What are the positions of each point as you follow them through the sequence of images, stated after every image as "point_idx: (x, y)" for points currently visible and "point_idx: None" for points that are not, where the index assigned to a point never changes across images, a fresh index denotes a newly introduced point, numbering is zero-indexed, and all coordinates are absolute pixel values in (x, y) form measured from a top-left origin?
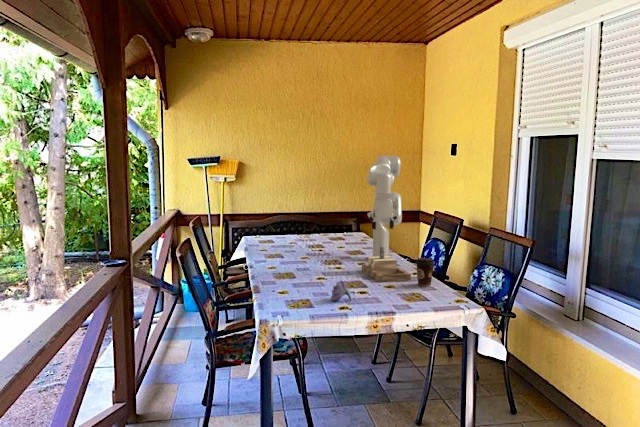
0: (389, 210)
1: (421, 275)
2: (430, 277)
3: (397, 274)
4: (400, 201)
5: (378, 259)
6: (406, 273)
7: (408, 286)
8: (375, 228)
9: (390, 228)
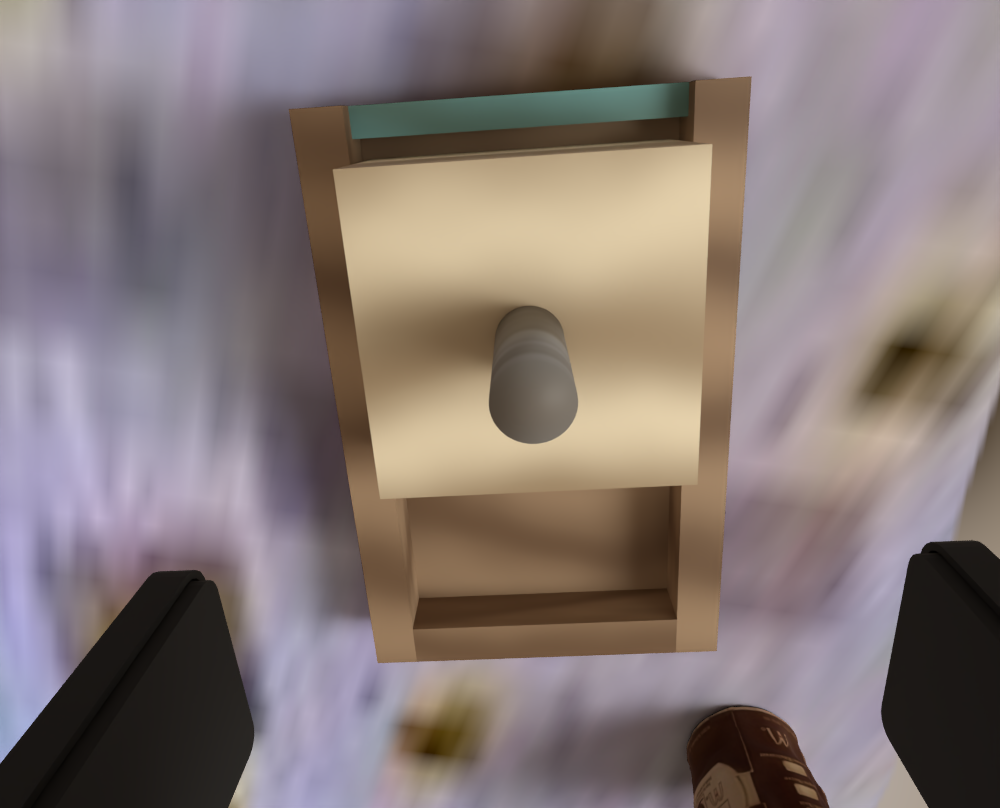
0: None
1: None
2: None
3: (575, 647)
4: None
5: (454, 401)
6: (685, 625)
7: (593, 755)
8: (231, 777)
9: (911, 601)
